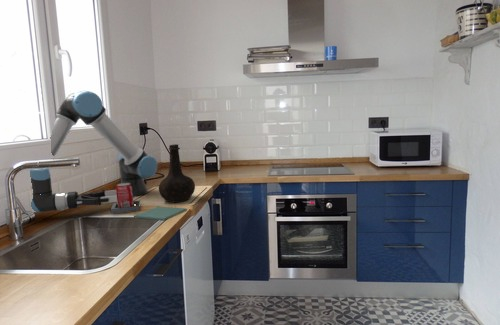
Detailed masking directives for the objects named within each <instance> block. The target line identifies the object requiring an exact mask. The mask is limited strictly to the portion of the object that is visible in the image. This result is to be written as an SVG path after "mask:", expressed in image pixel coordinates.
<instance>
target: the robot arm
mask: <svg viewBox="0 0 500 325" xmlns="http://www.w3.org/2000/svg"><path fill="white" fill-rule="evenodd" d="M106 112H107V109H106V108H105V106H104V105H103V102H102V99H101V97H100V96H99V95H98V94H97V93H95V92H93V91H90V90H82V91H81V90H80V91H77V92H73V93H71V94H68V95H67V96H66V97H65V98H64V100H63V101H62V102H61V105H60V106H59V108H58V110H57V112H56V114H55V117H56V119H55V120H54V122H55V123H54V122H53V123H54V126H53V130H52V135H51V137H50V139H51V153H52V155H53V156H55V155H56V156H57V154H58V152H59V151H60V148H61V146H62V145H63V143H64V141H65V139H66V138H67V136H68V135H69V132H70V130H71V129H72V128H73V126H75V125H76V124H77V123H78V121H79V120H81V121H82V123H84V124H85V125H86V126H91V127H92V128H93V129H95V131H96V132H97V133H98V134H99V135H100V136H101V137H102V138H103V139H104V140H105V141H106V142H107V143H108V144H109V145H110V146H111V147H112V148H113V149H114V150H115V152H117V153H118V154H119V156H118V166H119V174H120V175H119V176H120V184H121V183H130V185H131V187H132V192H133V197H138V196H143V195H146V194H147V193H148V188H147V187H146V184H145V181H144V179H149V178H152V177H153V176H155V174H156V173H157V170H158V161H157V159H156V158H155V157H154V156H152V155H148V153H146V151H144V149H143V148H138V146H136V145H135V144H134V143H133V141H131V140H130V139H129V137H128V136H127V135H126V134H125V133H124V132H123V131H122V129H120V128H119V127H118V125H117V124H116V123H115V122H114V121H113V120H112V119H111V118H110V117H109V116H108V115H107V113H106ZM56 156H55V157H56ZM55 157H54V158H53V160H54V159H55ZM49 168H50V167H49ZM49 168H44V169H31V170H30V177H31V183H32V187H31V190H32V189H33V193H32V195H33V199H32V202H31V207H32V209H33V210H34V211H36V212H35V213H46V212H55V211H61V212H63V211H64V210H68V209H69V210H73V209H78V208H79V206H102V204H107V203H108V204H109V203H117V194H116V189H112V190H111V189H110V190H105V189H102V190H98V191H93V192H88V193H81V195H79V193H78V192H77V191H68V192H67V191H66V192H58V193H57V192H56V193H53V189H52V188H53V187H52V179H51V172H50V169H49ZM145 193H146V194H145ZM40 194H41V195H40ZM142 194H143V195H142Z"/></svg>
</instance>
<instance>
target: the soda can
mask: <svg viewBox="0 0 500 325" xmlns="http://www.w3.org/2000/svg"><path fill="white" fill-rule="evenodd" d="M115 190H116V194H117V202H116V203H118V208H121V207H129V206H134V202H133V201H134V196H133V192H132V187H131V185H130V183H121V182H120V183H118V184H116V187H115Z"/></svg>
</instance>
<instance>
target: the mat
mask: <svg viewBox="0 0 500 325" xmlns="http://www.w3.org/2000/svg"><path fill="white" fill-rule="evenodd" d="M187 210H188V209H187V208H185V207H173V206H171V207H170V206H158V205H157V206H155V207H153V208H150V209H147V210H145V211H143V212H142V211H141V212H139V213H137V214H134V215H133V219H134V218H135V219H145V220H155V221H166V220H168V219H170V218H173V217H174V216H177V215H180V214H181V213H184V212H186V211H187Z"/></svg>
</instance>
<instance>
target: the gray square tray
mask: <svg viewBox="0 0 500 325" xmlns="http://www.w3.org/2000/svg"><path fill="white" fill-rule="evenodd" d="M133 202H134V204H136V206H129V207H121V208H118V203H117V202H112V206H111V208H110V214H111V215H115V214H123V213H132V212H139V211H140V209H139V205H140V206H141V204H140V203H141V202H140V200H133Z"/></svg>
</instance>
